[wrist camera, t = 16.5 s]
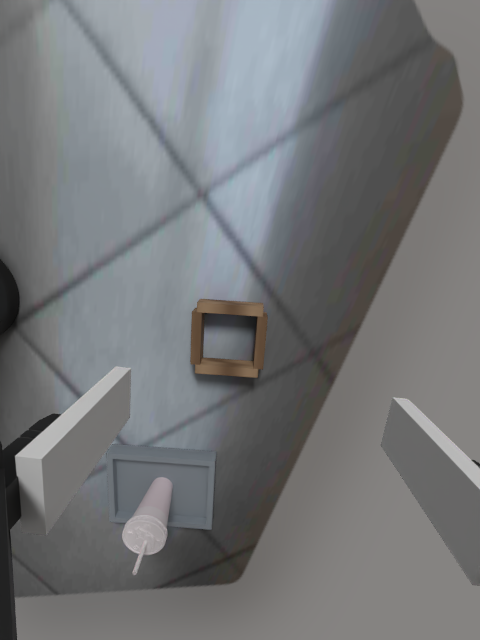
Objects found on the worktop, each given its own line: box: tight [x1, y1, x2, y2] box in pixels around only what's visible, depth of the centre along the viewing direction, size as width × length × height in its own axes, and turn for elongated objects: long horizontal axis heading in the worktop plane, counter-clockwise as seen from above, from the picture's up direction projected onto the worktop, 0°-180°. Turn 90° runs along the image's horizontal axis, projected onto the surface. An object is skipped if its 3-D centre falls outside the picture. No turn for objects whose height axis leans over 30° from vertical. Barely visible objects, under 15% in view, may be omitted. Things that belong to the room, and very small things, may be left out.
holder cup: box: [191, 299, 268, 378], centre depth 45 cm, size 11×11×3 cm
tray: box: [106, 444, 217, 530], centre depth 52 cm, size 18×14×2 cm
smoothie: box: [122, 477, 173, 575], centre depth 46 cm, size 6×6×14 cm
